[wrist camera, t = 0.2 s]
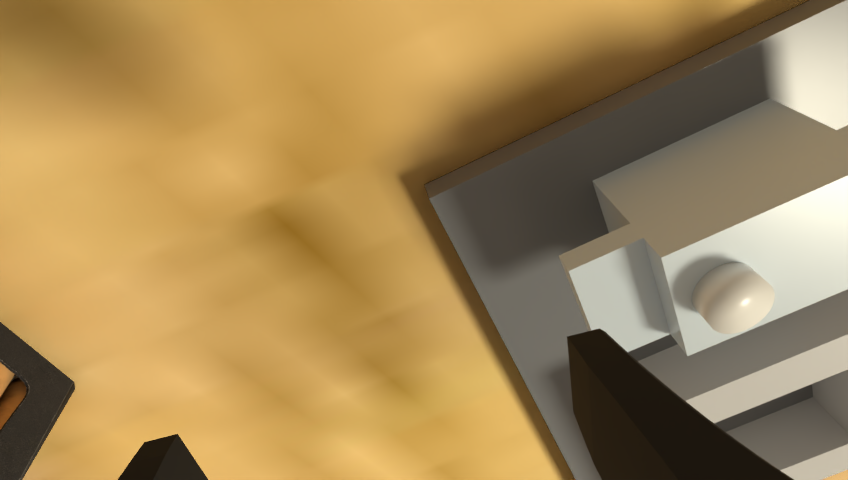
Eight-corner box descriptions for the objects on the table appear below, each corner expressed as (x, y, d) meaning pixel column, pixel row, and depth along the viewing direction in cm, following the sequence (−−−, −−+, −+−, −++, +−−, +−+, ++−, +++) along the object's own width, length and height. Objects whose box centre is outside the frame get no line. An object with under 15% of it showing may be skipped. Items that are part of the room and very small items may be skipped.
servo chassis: (890, 369, 28) (957, 427, 25) (583, 492, 30) (612, 559, 27) (902, -45, 17) (1021, -31, 14) (424, 184, 19) (442, 239, 16)
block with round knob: (842, 170, 20) (994, 254, 15) (564, 293, 21) (629, 406, 16) (838, 66, 18) (1014, 128, 13) (530, 209, 19) (593, 311, 14)
